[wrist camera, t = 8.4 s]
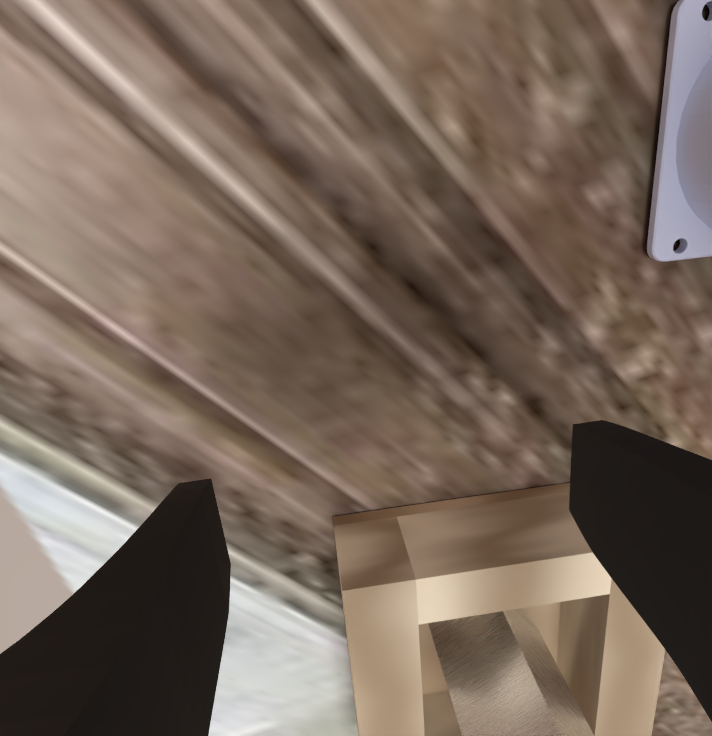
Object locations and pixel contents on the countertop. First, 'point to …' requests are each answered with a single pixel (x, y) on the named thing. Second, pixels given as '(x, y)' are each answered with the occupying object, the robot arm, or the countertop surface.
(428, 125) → the countertop surface
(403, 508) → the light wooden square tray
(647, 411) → the countertop surface
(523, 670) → the brushed grey metal block
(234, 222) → the countertop surface
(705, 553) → the robot arm
